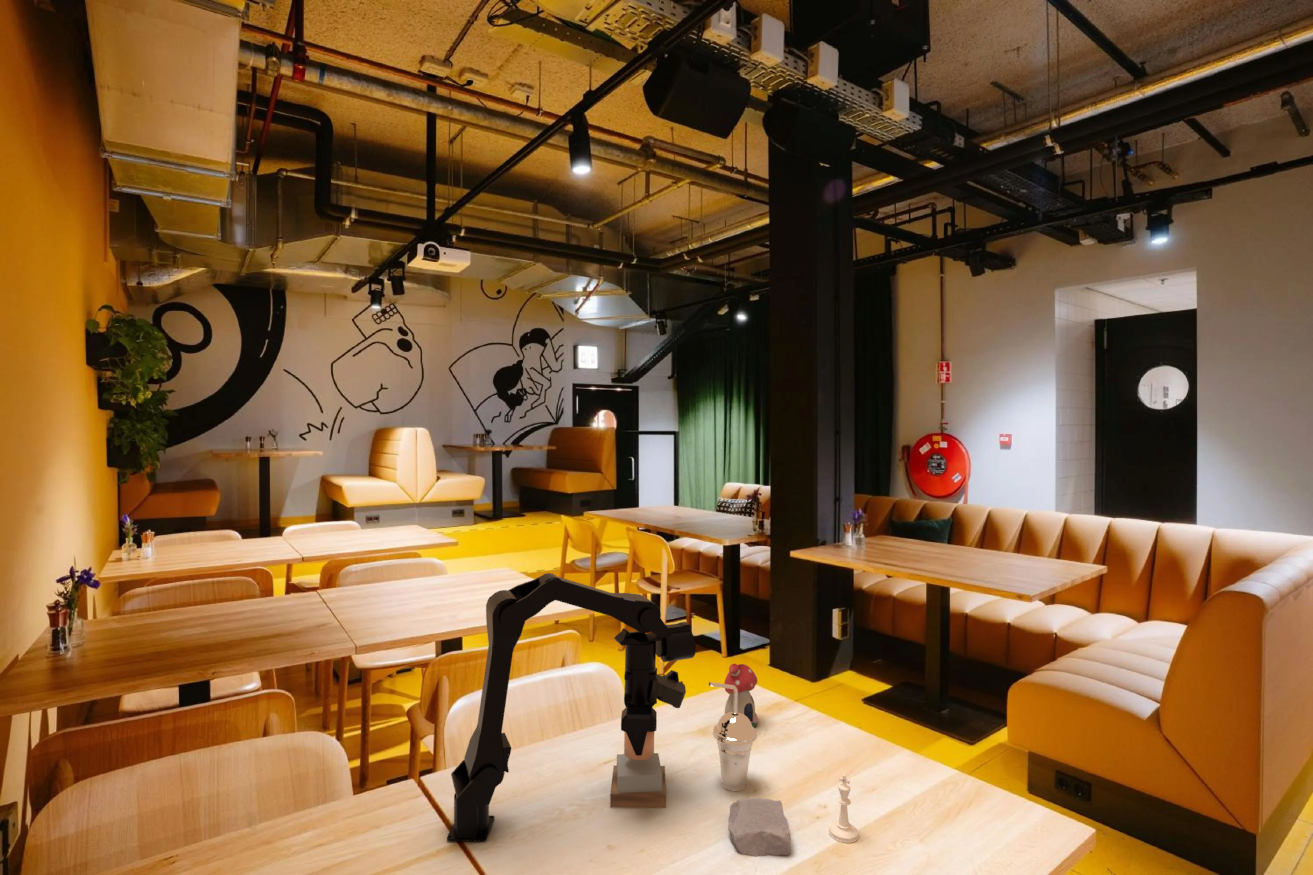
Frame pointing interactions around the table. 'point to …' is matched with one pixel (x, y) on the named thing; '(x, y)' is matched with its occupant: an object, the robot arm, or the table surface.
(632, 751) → the cylinder
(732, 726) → the cup with straw
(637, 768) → the top slab
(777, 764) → the table surface
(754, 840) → the stone block
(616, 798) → the base slab
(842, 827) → the chess piece
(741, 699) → the decorative ornament
